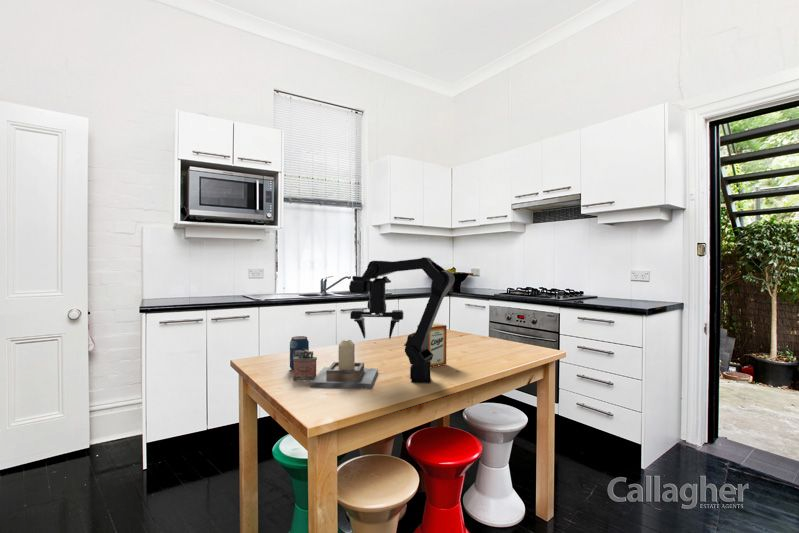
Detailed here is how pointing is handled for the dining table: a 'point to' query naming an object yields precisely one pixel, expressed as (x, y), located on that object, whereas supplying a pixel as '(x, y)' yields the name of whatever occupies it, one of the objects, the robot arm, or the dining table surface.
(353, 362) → the candle
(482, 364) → the dining table surface
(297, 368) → the lighter
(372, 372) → the candle stand
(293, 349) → the soda can
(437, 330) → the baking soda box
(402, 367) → the dining table surface
